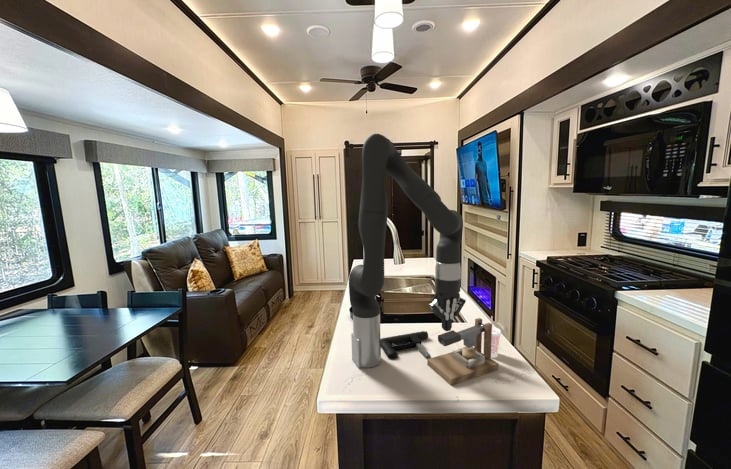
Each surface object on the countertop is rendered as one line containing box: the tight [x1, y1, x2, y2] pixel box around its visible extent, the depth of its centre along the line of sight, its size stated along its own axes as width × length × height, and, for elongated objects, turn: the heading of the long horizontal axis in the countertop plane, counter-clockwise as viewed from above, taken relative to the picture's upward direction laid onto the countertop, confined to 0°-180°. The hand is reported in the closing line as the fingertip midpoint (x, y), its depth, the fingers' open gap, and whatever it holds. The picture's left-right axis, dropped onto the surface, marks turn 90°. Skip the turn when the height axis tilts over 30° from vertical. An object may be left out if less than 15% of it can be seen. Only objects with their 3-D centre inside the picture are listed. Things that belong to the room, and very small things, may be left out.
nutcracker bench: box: [426, 317, 500, 386], centre depth 97 cm, size 19×12×14 cm, turn 113°
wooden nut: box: [462, 346, 475, 360], centre depth 99 cm, size 4×4×4 cm
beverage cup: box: [482, 315, 502, 359], centre depth 105 cm, size 6×6×14 cm
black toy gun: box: [380, 330, 431, 360], centre depth 110 cm, size 3×20×16 cm
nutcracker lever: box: [437, 322, 485, 348], centre depth 97 cm, size 18×4×6 cm, turn 113°
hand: (446, 329), depth 94 cm, fingers closed
